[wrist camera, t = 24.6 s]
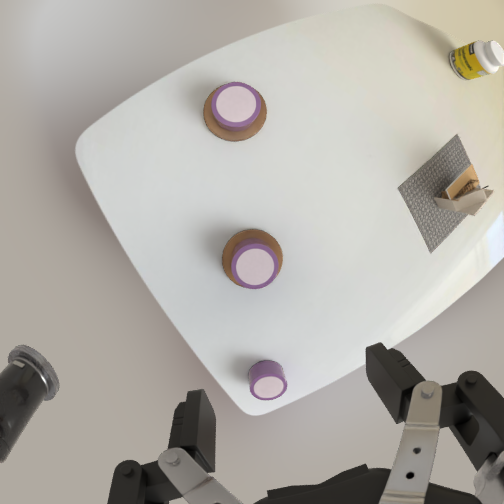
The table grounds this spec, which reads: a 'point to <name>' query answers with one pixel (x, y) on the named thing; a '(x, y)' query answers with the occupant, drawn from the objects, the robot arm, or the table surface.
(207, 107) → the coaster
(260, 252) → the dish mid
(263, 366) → the purple rimmed puck
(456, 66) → the supplement bottle
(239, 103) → the purple short cylinder
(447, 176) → the architectural model
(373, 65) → the table surface
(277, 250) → the brown wooden coaster
